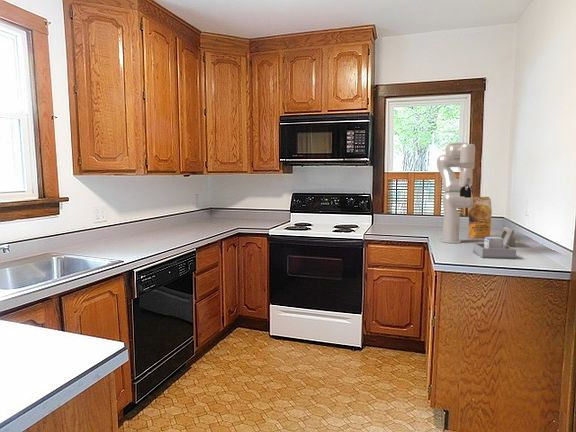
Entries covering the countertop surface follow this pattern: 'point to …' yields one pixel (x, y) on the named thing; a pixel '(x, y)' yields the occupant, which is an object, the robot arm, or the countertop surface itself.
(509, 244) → the digital clock
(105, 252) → the countertop surface
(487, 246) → the medicine box
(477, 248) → the bin
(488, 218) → the pancake mix bag
